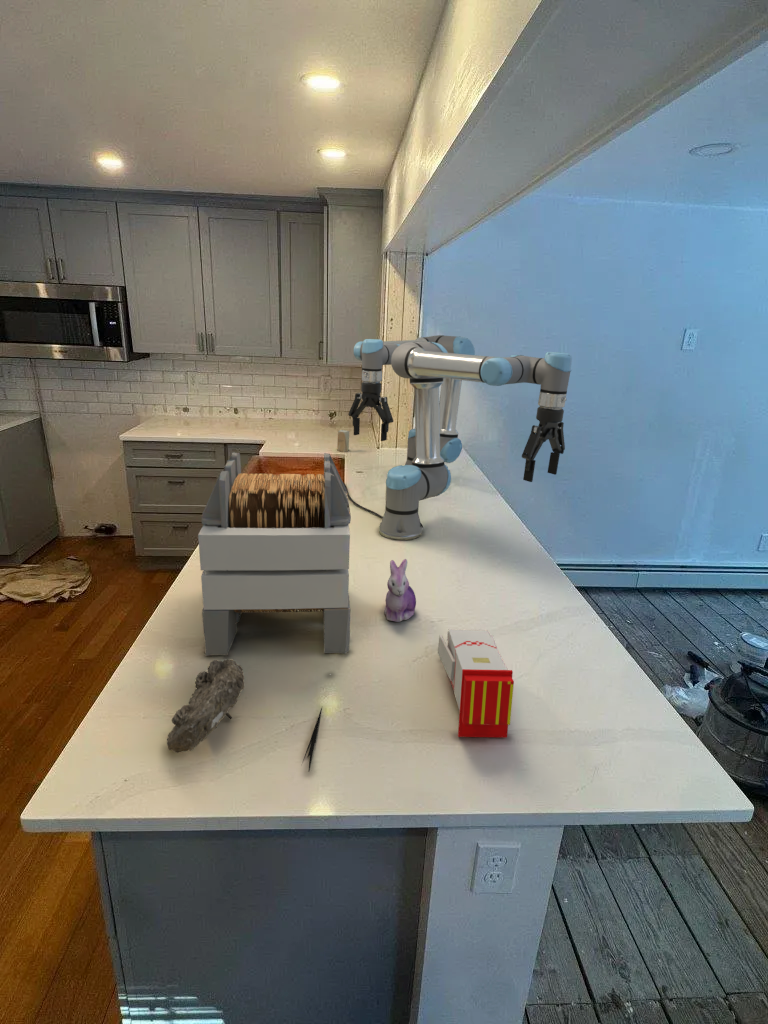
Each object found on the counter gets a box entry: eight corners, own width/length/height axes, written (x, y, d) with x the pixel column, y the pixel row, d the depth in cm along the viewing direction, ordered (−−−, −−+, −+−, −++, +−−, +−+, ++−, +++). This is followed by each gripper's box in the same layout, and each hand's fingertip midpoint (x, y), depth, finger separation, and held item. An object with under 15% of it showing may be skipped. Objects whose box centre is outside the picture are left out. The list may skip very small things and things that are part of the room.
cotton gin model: (226, 586, 157) (217, 442, 143) (344, 585, 161) (346, 445, 147) (202, 658, 125) (189, 482, 112) (350, 654, 129) (354, 483, 115)
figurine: (392, 627, 141) (395, 572, 136) (374, 608, 149) (376, 556, 144) (425, 619, 145) (429, 566, 140) (405, 601, 154) (408, 550, 149)
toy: (488, 613, 130) (523, 677, 101) (484, 667, 133) (517, 744, 104) (435, 612, 130) (455, 676, 101) (432, 666, 133) (451, 743, 103)
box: (336, 450, 310) (337, 430, 307) (341, 449, 314) (341, 429, 310) (344, 452, 308) (345, 432, 304) (349, 450, 312) (349, 430, 308)
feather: (331, 679, 122) (336, 673, 122) (307, 777, 96) (313, 769, 95) (324, 675, 122) (329, 669, 121) (298, 772, 95) (304, 764, 95)
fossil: (192, 660, 117) (244, 628, 112) (224, 691, 120) (276, 661, 115) (142, 746, 98) (202, 712, 93) (182, 779, 101) (242, 748, 96)
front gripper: (539, 413, 154) (527, 487, 162) (583, 406, 171) (571, 473, 178) (515, 408, 159) (506, 480, 167) (561, 402, 176) (550, 467, 183)
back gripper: (340, 379, 217) (339, 433, 225) (392, 386, 203) (389, 444, 211) (352, 377, 223) (351, 431, 230) (404, 384, 209) (401, 441, 216)
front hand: (540, 477), depth 173 cm, fingers open, 13 cm apart
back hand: (369, 437), depth 220 cm, fingers open, 13 cm apart
